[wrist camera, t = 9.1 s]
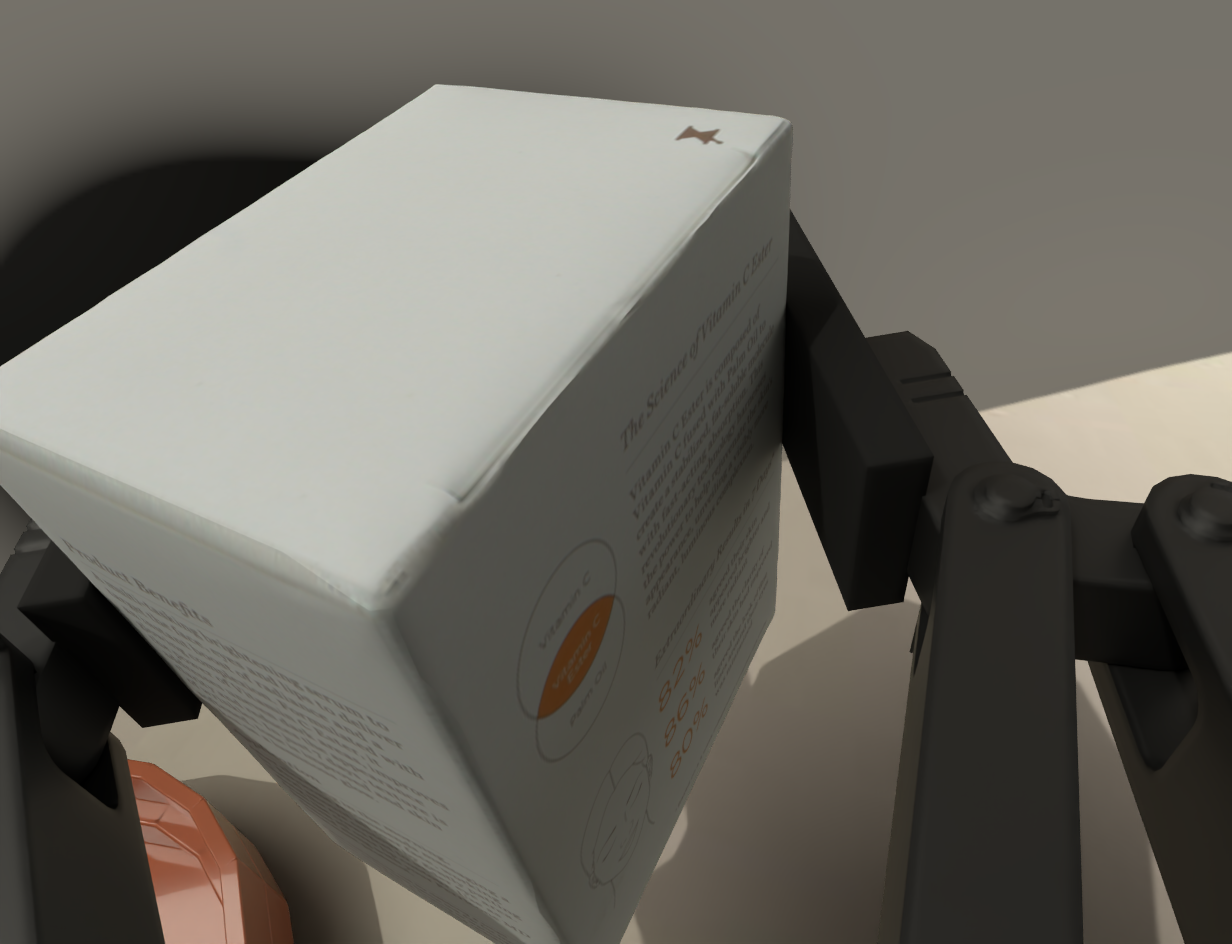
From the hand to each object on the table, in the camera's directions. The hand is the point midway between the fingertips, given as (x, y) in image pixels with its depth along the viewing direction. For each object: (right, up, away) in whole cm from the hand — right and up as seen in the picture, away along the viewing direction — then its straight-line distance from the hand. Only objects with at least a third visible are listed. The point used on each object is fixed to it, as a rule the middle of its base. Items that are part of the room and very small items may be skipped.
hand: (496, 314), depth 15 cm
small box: (+1, -8, +1) cm, 8 cm away
